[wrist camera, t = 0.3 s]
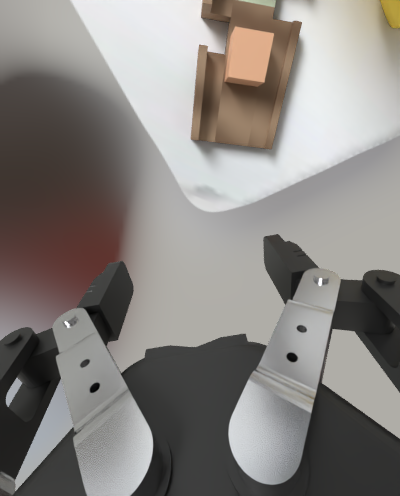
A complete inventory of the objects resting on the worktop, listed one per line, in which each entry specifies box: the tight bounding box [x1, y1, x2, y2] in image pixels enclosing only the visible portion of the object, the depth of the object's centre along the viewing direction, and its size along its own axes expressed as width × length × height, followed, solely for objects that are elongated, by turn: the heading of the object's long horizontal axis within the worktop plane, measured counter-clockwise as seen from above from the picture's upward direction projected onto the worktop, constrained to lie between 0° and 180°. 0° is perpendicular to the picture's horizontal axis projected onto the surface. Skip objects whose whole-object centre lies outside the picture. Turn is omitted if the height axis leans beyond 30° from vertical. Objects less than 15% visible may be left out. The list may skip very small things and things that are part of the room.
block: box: [224, 27, 274, 87], centre depth 27 cm, size 4×4×3 cm
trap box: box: [191, 0, 302, 149], centre depth 28 cm, size 21×12×4 cm, turn 173°
